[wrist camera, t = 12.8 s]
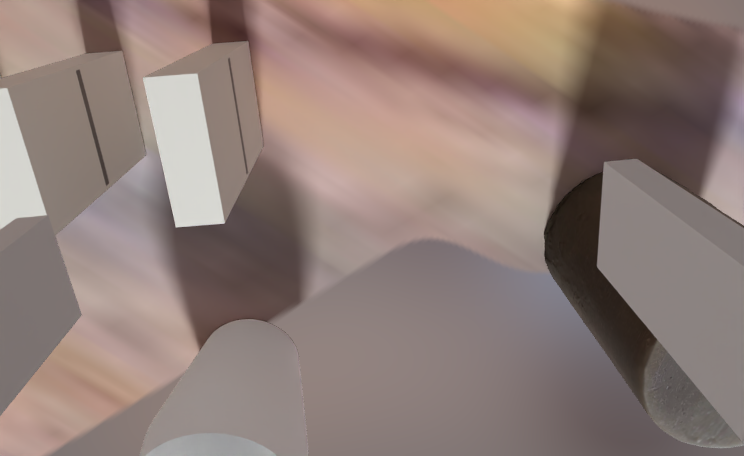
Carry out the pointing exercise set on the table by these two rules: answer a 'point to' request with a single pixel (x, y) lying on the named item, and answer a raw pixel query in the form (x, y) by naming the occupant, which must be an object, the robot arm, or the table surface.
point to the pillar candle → (626, 324)
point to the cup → (235, 398)
